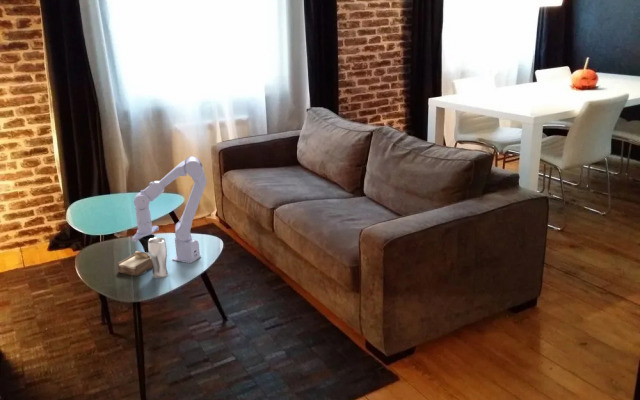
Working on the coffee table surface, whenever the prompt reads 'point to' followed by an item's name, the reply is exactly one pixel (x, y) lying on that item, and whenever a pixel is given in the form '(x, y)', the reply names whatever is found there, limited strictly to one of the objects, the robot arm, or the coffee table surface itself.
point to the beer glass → (158, 256)
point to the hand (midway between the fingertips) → (147, 251)
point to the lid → (135, 260)
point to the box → (139, 268)
